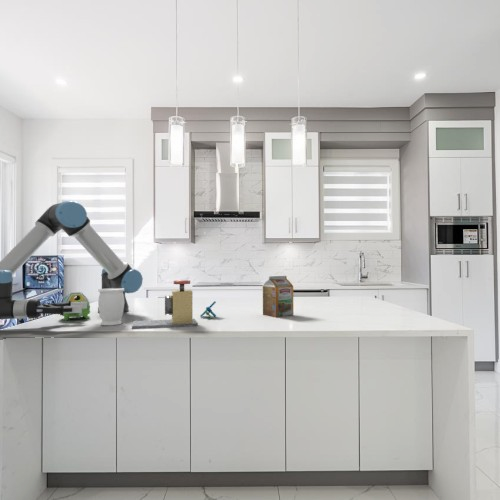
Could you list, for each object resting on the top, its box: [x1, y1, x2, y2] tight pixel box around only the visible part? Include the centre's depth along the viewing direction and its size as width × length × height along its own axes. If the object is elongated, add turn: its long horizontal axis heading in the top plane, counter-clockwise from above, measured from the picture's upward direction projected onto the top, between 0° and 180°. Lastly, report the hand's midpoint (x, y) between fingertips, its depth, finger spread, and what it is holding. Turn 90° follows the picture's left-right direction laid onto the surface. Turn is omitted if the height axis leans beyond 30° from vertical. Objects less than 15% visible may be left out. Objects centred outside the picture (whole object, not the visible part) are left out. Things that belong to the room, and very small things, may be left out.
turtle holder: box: [61, 291, 91, 322], centre depth 179 cm, size 12×18×12 cm
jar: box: [97, 288, 124, 327], centre depth 166 cm, size 11×10×15 cm
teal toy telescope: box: [200, 300, 217, 319], centre depth 184 cm, size 11×6×10 cm
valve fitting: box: [131, 279, 199, 330], centre depth 164 cm, size 13×26×18 cm, turn 104°
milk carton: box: [262, 275, 294, 318], centre depth 190 cm, size 11×11×19 cm
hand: (84, 307), depth 163 cm, fingers open, 13 cm apart
